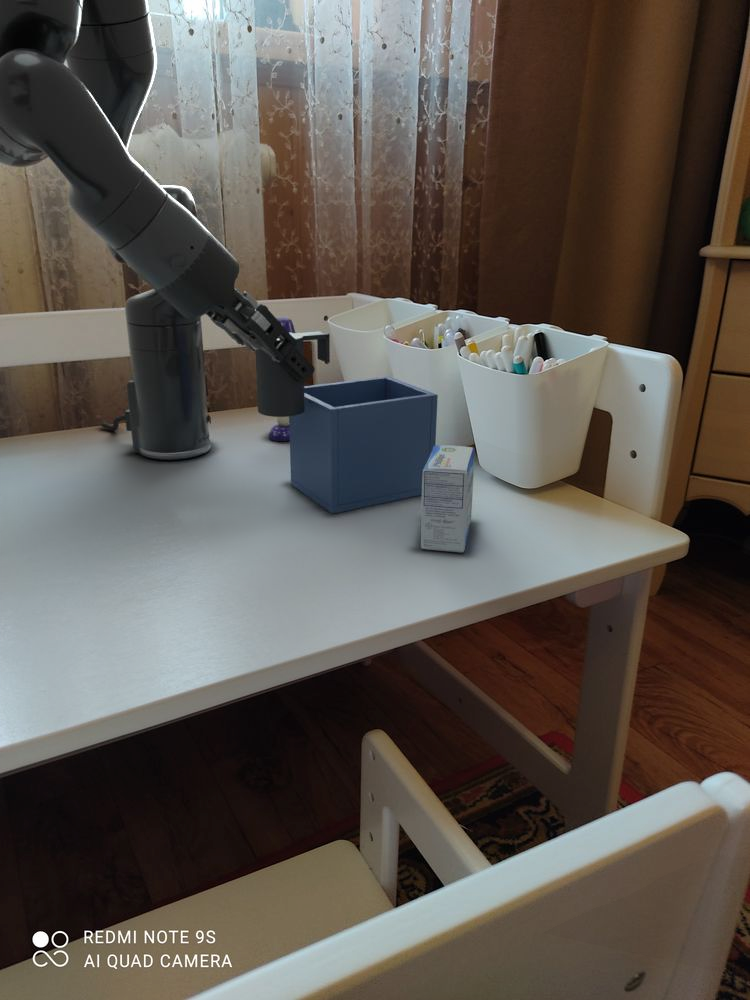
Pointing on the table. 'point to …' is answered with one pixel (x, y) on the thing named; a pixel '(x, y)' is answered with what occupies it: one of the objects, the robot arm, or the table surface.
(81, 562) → the table surface
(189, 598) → the table surface
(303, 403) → the mug
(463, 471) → the medicine box
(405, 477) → the box
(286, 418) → the toy lamp
